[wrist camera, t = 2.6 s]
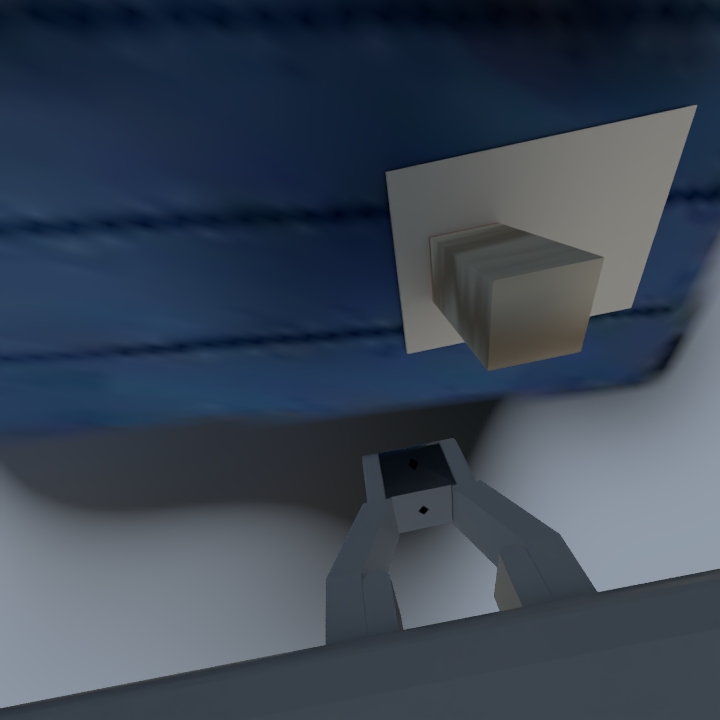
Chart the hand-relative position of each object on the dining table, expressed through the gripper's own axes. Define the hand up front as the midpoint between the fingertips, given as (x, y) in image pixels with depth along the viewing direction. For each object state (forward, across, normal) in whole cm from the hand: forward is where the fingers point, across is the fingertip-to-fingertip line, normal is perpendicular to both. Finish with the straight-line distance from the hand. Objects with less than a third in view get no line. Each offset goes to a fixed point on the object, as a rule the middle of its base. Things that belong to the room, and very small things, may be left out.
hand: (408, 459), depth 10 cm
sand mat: (+17, -13, -1) cm, 21 cm away
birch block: (+16, -8, -1) cm, 18 cm away
